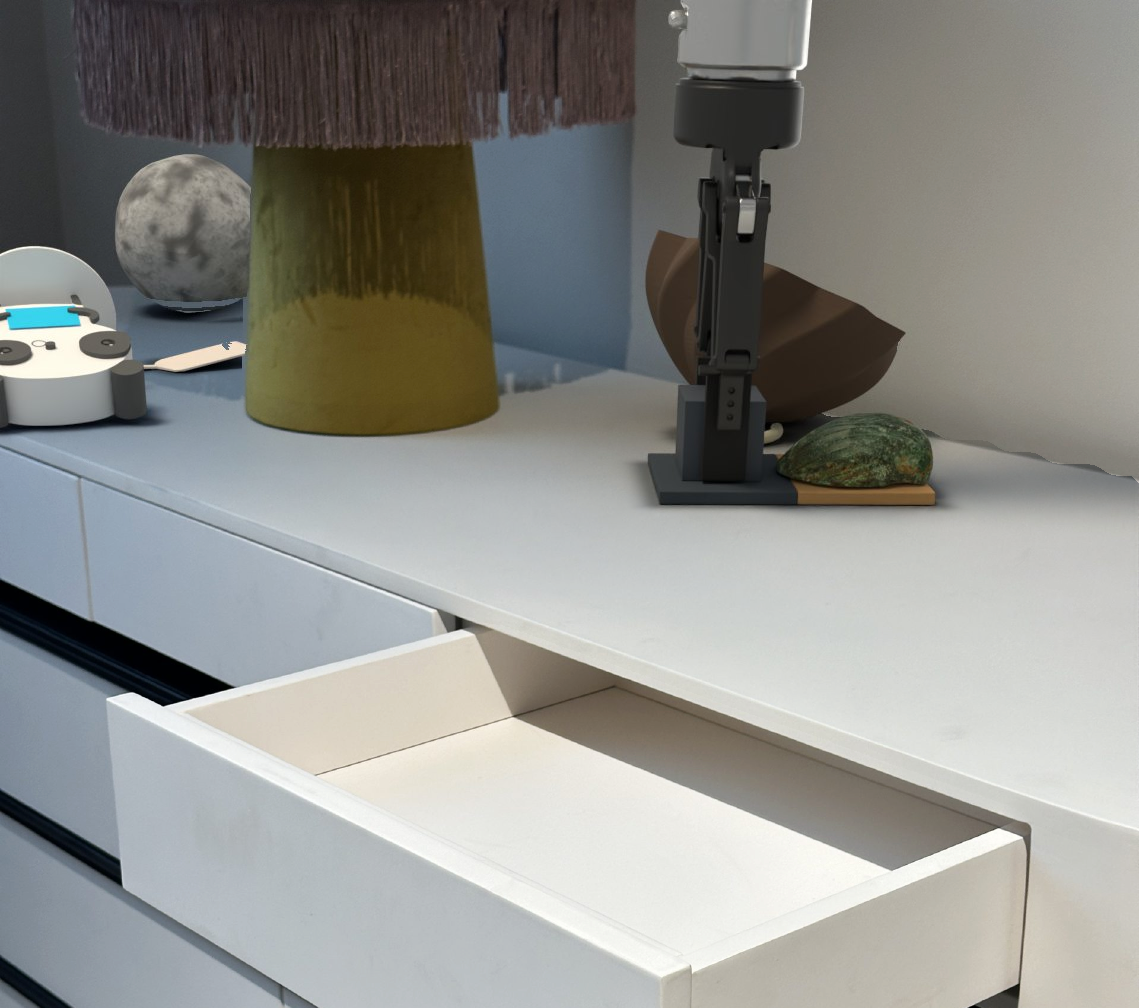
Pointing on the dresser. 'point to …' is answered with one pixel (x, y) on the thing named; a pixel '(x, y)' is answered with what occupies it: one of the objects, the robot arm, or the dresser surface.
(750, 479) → the slate block
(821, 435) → the seashell
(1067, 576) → the dresser surface
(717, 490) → the sorting mat
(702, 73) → the robot arm
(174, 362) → the spatula
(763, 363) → the brown fluted bowl
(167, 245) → the moon lamp
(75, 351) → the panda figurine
